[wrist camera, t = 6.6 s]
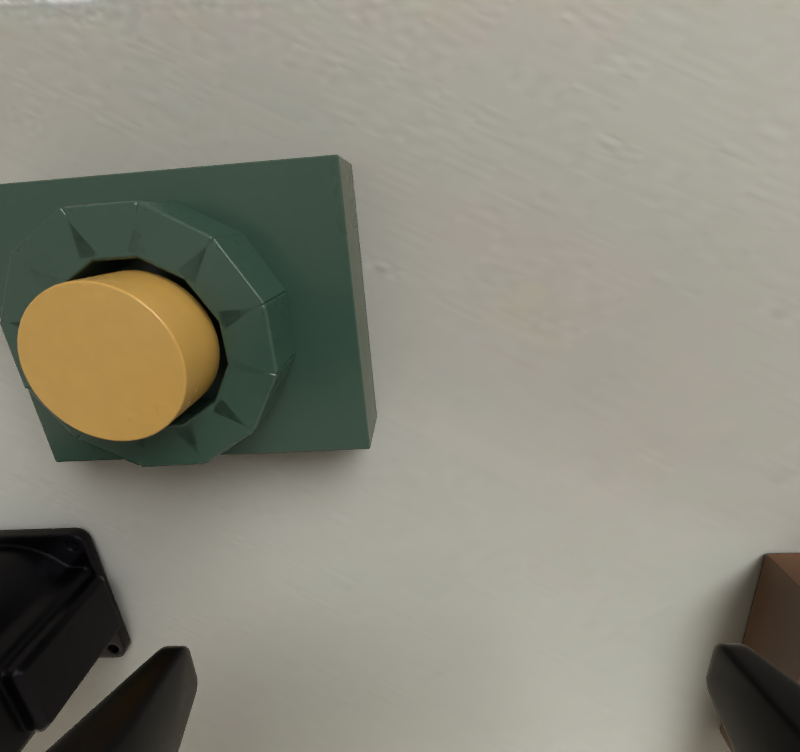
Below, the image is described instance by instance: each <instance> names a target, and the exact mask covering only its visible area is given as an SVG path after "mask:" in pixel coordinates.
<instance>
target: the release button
mask: <svg viewBox="0 0 800 752" xmlns="http://www.w3.org/2000/svg"><path fill="white" fill-rule="evenodd" d="M17 347H18V355H19V360H20V363H21V367H22V370H23V372H24V375H25V377H26V379H27V381H28V383H29V385H30V386H31V388H32V390H33V391H34V393H35V394H36V395H37V397H38V398H39V399H40V400H41V402H42V403H43V404H44V405H45V406H46V407H47V408H48V409H49V410H50V411H51V412H52V413H53V414H54V415H56V416H57V417H58V418H59V419H61V420H62V421H64V422H65V423H66V424H68V425H70V426H71V427H73V428H75V429H77V430H79V431H81V432H83V433H85V434H88V435H91V436H94V437H97V438H101V439H105V440H112V441H132V440H138V439H143V438H146V437H149V436H151V435H154V434H156V433H158V432H159V431H161V430H163V429H164V428H165V427H166V426H168V425H169V424H170V423H171V422H172V421H174V420H175V419H176V418H177V417H178V416H179V415H181V414H182V413H183V412H184V411H185V410H187V409H188V408H189V407H190V406H191V405H192V404H194V403H195V402H196V401H197V400H198V399H200V398H201V397H202V396H203V395H204V394H205V393H206V392H207V391H208V390H209V388H210V387H211V385H212V383H213V382H214V379H215V377H216V375H217V371H218V368H219V360H220V348H219V342H218V337H217V334H216V330H215V328H214V326H213V323H212V321H211V319H210V317H209V316H208V314H207V312H206V311H205V309H204V308H203V307H202V305H201V304H200V303H199V302H198V301H197V300H196V299H195V297H194V296H192V295H191V294H190V293H189V292H188V291H187V290H186V289H184V288H183V287H181V286H180V285H178V284H177V283H175V282H173V281H172V280H170V279H168V278H166V277H163V276H161V275H158V274H155V273H151V272H148V271H141V270H123V271H117V272H112V273H107V274H102V275H97V276H92V277H87V278H82V279H77V280H72V281H67V282H63V283H60V284H56V285H54V286H52V287H50V288H48V289H46V290H44V291H43V292H42V293H40V294H39V295H38V296H37V297H36V298H35V299H34V300H33V301H32V302H31V303H30V304H29V306H28V307H27V308H26V310H25V312H24V314H23V316H22V318H21V321H20V325H19V328H18V336H17Z"/></svg>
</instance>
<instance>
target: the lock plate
mask: <svg viewBox="0 0 800 752" xmlns="http://www.w3.org/2000/svg"><path fill="white" fill-rule="evenodd" d="M743 644H744V645H746V646H748V647H750V648H751V649H752V650H754V651H755V652H757V653H758V654H759V655H761V656H762V657H763V658H765V659H766V660H767V661H769V662H770V663H771V664H773V665H774V666H776V667H777V668H778V669H780V670H781V671H782V672H784V673H785V674H786V675H788V676H789V677H790V678H792V679H793V680H795V681H796V682H797V683H799V684H800V553H776V554H766V556H765V559H764V563H763V567H762V571H761V575H760V579H759V583H758V587H757V590H756V594H755V598H754V602H753V606H752V610H751V614H750V617H749V621H748V625H747V629H746V633H745V637H744V641H743ZM720 732H721V734H722V736H723V738H724V739H725V741H726V743H727V745H728V746H729V748H730V750H731V752H734V749H733V747H732V745H731V742H730V740H729V738H728V735H727V733H726V731H725V729H724V726H723V724H722V726H721V730H720Z"/></svg>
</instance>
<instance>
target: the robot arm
mask: <svg viewBox="0 0 800 752" xmlns="http://www.w3.org/2000/svg"><path fill="white" fill-rule="evenodd" d="M130 644H131V643H130V638H129V636H128V633H127V631H126V628H125V625H124V623H123V620H122V617H121V615H120V612H119V610H118V607H117V604H116V602H115V599H114V596H113V594H112V591H111V588H110V586H109V583H108V581H107V578H106V575H105V573H104V570H103V567H102V565H101V562H100V560H99V557H98V554H97V552H96V549H95V546H94V544H93V541H92V539H91V537H90V535H89V534H88V533H87V532H86V531H84V530H82V529H80V528H56V529H24V530H0V752H21V751H22V750H23V748H24V747H25V746H26V744H27V743H28V741H29V740H30V739H31V737H32V736H33V735H34V733H35V732H41V731H44V730H45V729H46V728H47V727H48V726H49V725H50V724H51V723H52V722H53V720H54V719H55V717H56V716H57V715H58V713H59V712H60V710H61V709H62V708H63V706H64V705H65V704H66V702H67V701H68V699H69V698H70V697H71V695H72V694H73V692H74V691H75V690H76V688H77V687H78V686H79V684H80V683H81V681H82V680H83V679H84V677H85V676H86V674H87V673H88V672H89V670H90V669H91V668H92V666H93V665H94V663H95V662H96V661H97V659H98V658H99V657H121V656H122V655H124V653H125V652H126V650H127V649H128V647H129V646H130ZM707 688H708V691H709V694H710V696H711V699H712V701H713V703H714V706H715V708H716V710H717V713H718V715H719V717H720V719H721V722H722V724H723V726H724V729H725V731H726V733H727V735H728V738H729V740H730V742H731V745H732V747H733V749H734V752H800V684H799V683H797V682H796V681H795V680H793V679H792V678H790V677H789V676H788V675H786V674H785V673H784V672H782V671H781V670H780V669H778V668H777V667H776V666H774V665H773V664H771V663H770V662H769V661H767V660H766V659H765V658H763V657H762V656H761V655H759V654H758V653H757V652H755V651H754V650H752V649H751V648H750V647H748V646H746V645H744V644H740V643H719V644H717V645H716V646H715V647H714V650H713V653H712V657H711V661H710V665H709V669H708V673H707ZM196 691H197V675H196V672H195V668H194V664H193V661H192V657H191V654H190V651H189V649H188V648H187V647H186V646H165V647H163V648H161V649H160V650H158V651H157V652H156V653H155V654H154V655H153V656H152V657H150V658H149V659H148V660H147V661H146V662H145V663H144V664H143V665H141V666H140V667H139V668H138V669H137V670H136V671H135V672H134V673H133V674H131V675H130V676H129V677H128V678H127V679H126V680H125V681H124V682H123V683H121V684H120V685H119V686H118V687H117V688H116V689H115V690H114V691H113V692H111V693H110V694H109V695H108V696H107V697H106V698H105V699H104V700H103V701H101V702H100V703H99V704H98V705H97V706H96V707H95V708H94V709H93V710H91V711H90V712H89V713H88V714H87V715H86V716H85V717H84V718H82V719H81V720H80V721H79V722H78V723H77V724H76V725H75V726H74V727H72V728H71V729H70V730H69V731H68V732H67V733H66V734H65V735H64V736H62V737H61V738H60V739H59V740H58V741H57V742H56V743H55V744H54V745H52V746H51V747H50V748H49V749H48V750H47V751H46V752H178V750H179V747H180V744H181V741H182V737H183V734H184V731H185V728H186V724H187V721H188V718H189V715H190V711H191V708H192V705H193V701H194V698H195V695H196Z"/></svg>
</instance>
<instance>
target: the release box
mask: <svg viewBox="0 0 800 752" xmlns="http://www.w3.org/2000/svg"><path fill="white" fill-rule="evenodd" d="M123 270H141V271H148V272H151V273H155V274H158V275H161V276H163V277H166V278H168V279H170V280H172V281H173V282H175V283H177V284H178V285H180V286H181V287H183V288H184V289H186V290H187V291H188V292H189V293H190V294H191V295H192V296H194V297H195V299H196V300H197V301H198V302H199V303H200V304H201V305H202V307H203V308H204V309H205V311H206V312H207V314H208V316H209V317H210V319H211V321H212V323H213V326H214V328H215V330H216V334H217V337H218V342H219V348H220V360H219V368H218V371H217V375H216V377H215V379H214V382H213V383H212V385H211V387H210V388H209V390H208V391H207V392H206V393H205V394H204V395H203V396H202V397H201V398H200V399H198V400H197V401H196V402H195V403H194V404H192V405H191V406H190V407H189V408H188V409H187V410H185V411H184V412H183V413H182V414H181V415H179V416H178V417H177V418H176V419H175V420H174V421H172V422H171V423H170V424H169V425H168V426H166V427H165V428H164V429H163V430H161V431H159V432H158V433H156V434H154V435H151V436H149V437H146V438H143V439H138V440H132V441H112V440H105V439H101V438H97V437H94V436H91V435H88V434H85V433H83V432H81V431H79V430H77V429H75V428H73V427H71V426H70V425H68V424H66V423H65V422H64V421H62V420H61V419H59V418H58V417H57V416H56V415H54V414H53V413H52V412H51V411H50V410H49V409H48V408H47V407H46V406H45V405H44V404H43V403H42V402H41V400H40V399H39V398H38V397H37V395H36V394H35V393H34V391H33V390H32V388H31V386H30V385H29V383H28V381H27V379H26V377H25V375H24V372H23V370H22V367H21V363H20V360H19V355H18V347H17V336H18V328H19V325H20V321H21V318H22V316H23V314H24V312H25V310H26V308H27V307H28V306H29V304H30V303H31V302H32V301H33V300H34V299H35V298H36V297H37V296H38V295H39V294H40V293H42V292H43V291H44V290H46V289H48V288H50V287H52V286H54V285H56V284H60V283H63V282H67V281H72V280H77V279H82V278H87V277H92V276H97V275H102V274H107V273H112V272H117V271H123ZM0 319H1V321H0V325H1V327H2V330H3V332H4V335H5V337H6V340H7V343H8V345H9V348H10V350H11V353H12V355H13V358H14V361H15V363H16V366H17V368H18V371H19V373H20V376H21V379H22V381H23V384H24V386H25V388H28V390H29V393H30V395H31V398H32V401H33V403H34V406H35V408H36V411H37V414H38V416H39V419H40V421H41V424H42V427H43V429H44V432H45V434H46V437H47V440H48V442H49V445H50V447H51V450H52V452H53V455H54V458H55V460H56V462H64V461H88V460H112V459H125V460H128V461H130V462H133V463H135V464H138V465H142V466H168V465H193V464H204V463H207V462H209V461H210V460H212V459H213V458H215V457H216V456H218V455H231V454H255V453H278V452H302V451H326V450H350V449H369V448H370V446H371V441H372V437H373V432H374V427H375V423H376V418H377V414H376V404H375V394H374V384H373V374H372V364H371V354H370V344H369V334H368V324H367V314H366V304H365V294H364V284H363V274H362V264H361V254H360V244H359V234H358V224H357V214H356V204H355V194H354V184H353V175H352V165H351V163H349V162H347V161H346V160H344V159H343V158H341V157H340V156H338V155H327V156H316V157H304V158H293V159H281V160H270V161H259V162H247V163H236V164H224V165H213V166H201V167H190V168H179V169H167V170H156V171H144V172H133V173H121V174H110V175H99V176H87V177H76V178H64V179H53V180H42V181H30V182H19V183H7V184H0Z"/></svg>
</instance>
